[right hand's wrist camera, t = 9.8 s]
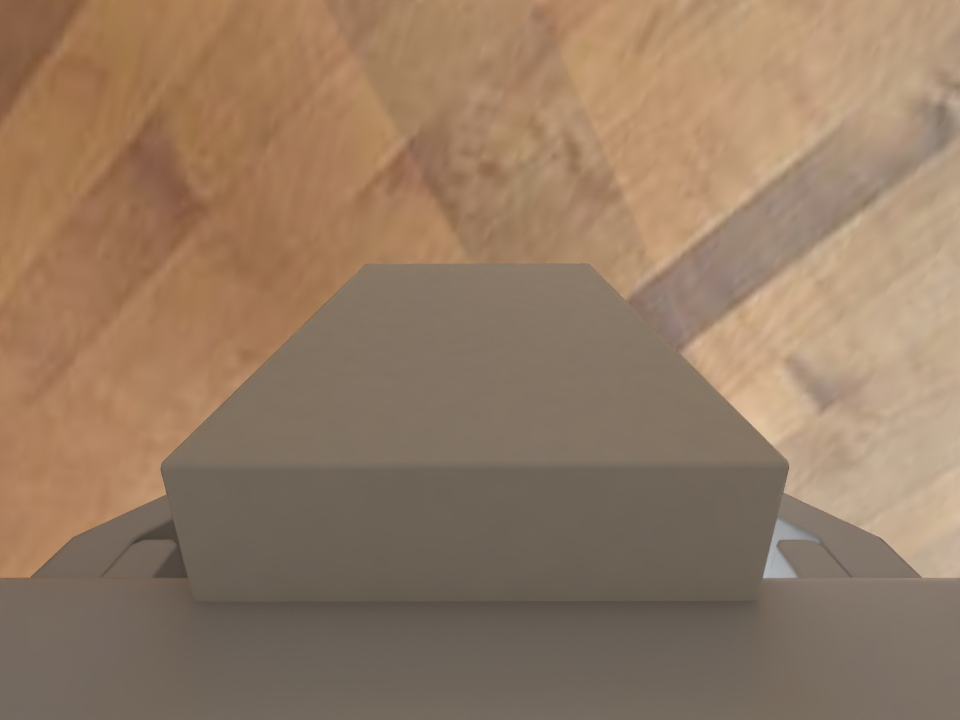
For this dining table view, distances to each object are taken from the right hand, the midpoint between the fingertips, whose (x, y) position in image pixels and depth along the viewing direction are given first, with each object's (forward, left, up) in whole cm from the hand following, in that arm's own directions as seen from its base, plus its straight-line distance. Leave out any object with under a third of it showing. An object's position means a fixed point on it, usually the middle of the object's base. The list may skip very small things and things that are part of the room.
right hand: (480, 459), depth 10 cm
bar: (-10, +3, -3) cm, 11 cm away
